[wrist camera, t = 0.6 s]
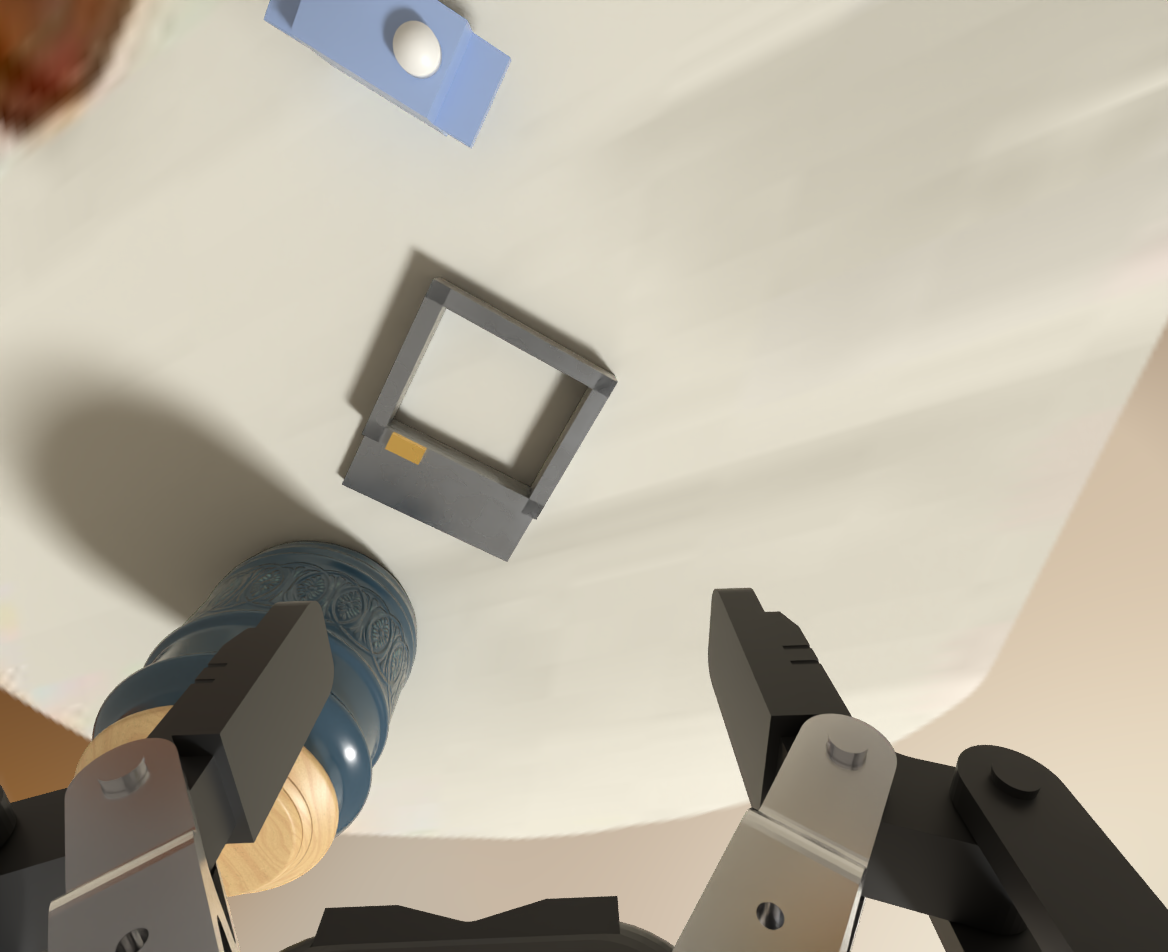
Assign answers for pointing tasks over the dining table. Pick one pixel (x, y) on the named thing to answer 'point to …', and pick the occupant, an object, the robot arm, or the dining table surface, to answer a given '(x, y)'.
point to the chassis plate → (448, 477)
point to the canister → (343, 728)
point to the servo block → (403, 55)
